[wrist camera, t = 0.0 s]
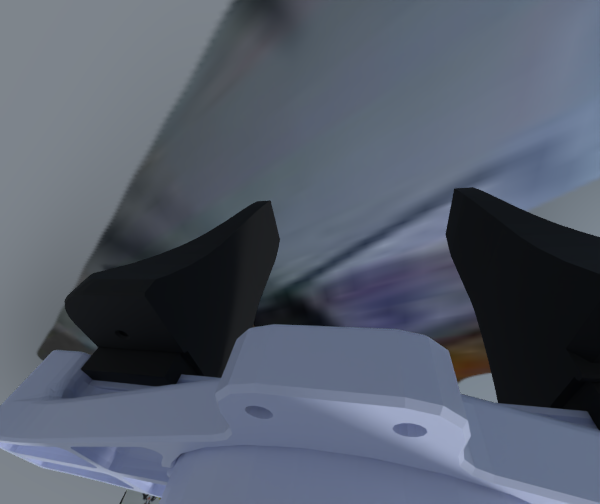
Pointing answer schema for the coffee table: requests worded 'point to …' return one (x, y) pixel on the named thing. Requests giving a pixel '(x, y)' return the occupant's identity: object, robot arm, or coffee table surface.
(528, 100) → the coffee table surface
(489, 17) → the coffee table surface
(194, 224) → the coffee table surface
